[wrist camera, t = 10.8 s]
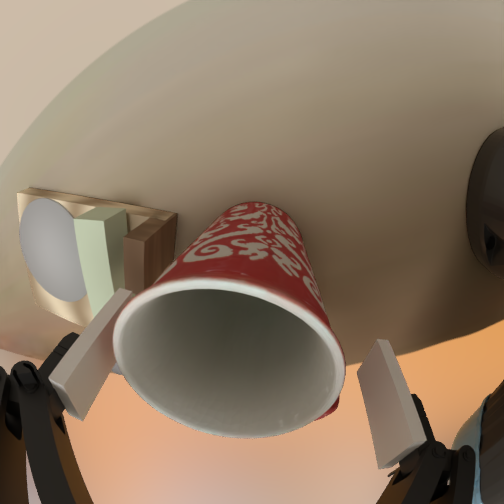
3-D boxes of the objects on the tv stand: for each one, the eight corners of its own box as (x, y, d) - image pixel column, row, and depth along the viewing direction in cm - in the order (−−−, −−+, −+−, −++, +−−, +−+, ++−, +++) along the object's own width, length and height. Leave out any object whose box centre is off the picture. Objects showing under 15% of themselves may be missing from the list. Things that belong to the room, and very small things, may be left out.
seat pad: (90, 205, 19) (87, 206, 19) (99, 313, 24) (97, 314, 23) (17, 192, 19) (15, 193, 19) (30, 284, 24) (28, 285, 23)
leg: (151, 355, 24) (136, 384, 21) (121, 347, 25) (104, 374, 21) (131, 207, 18) (101, 225, 15) (94, 205, 19) (62, 222, 15)
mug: (175, 237, 22) (79, 350, 9) (261, 163, 19) (227, 215, 6) (272, 336, 25) (263, 470, 13) (355, 285, 22) (407, 420, 10)
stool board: (177, 213, 21) (144, 241, 15) (170, 342, 27) (151, 384, 21) (29, 187, 21) (-11, 204, 15) (44, 296, 27) (16, 322, 21)
